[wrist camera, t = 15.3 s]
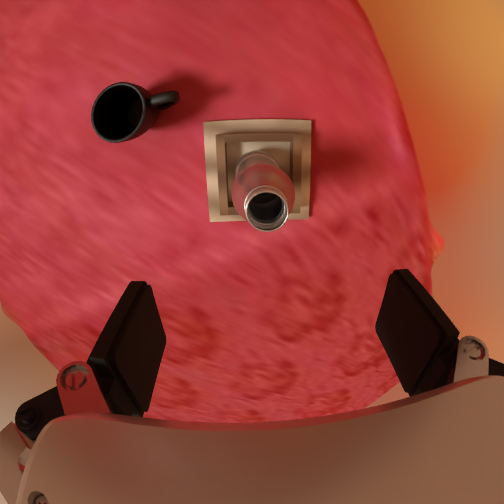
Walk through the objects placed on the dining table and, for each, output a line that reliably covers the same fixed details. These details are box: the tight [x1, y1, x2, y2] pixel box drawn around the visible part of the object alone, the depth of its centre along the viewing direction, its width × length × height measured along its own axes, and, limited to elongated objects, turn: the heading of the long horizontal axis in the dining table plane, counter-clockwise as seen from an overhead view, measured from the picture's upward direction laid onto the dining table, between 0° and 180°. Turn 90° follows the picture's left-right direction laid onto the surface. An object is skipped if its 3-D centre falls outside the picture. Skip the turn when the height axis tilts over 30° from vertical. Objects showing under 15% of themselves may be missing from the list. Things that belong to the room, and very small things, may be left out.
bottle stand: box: [203, 119, 311, 222], centre depth 39 cm, size 16×16×4 cm
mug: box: [91, 82, 180, 143], centre depth 32 cm, size 8×12×10 cm
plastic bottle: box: [231, 150, 295, 232], centre depth 31 cm, size 6×7×20 cm
